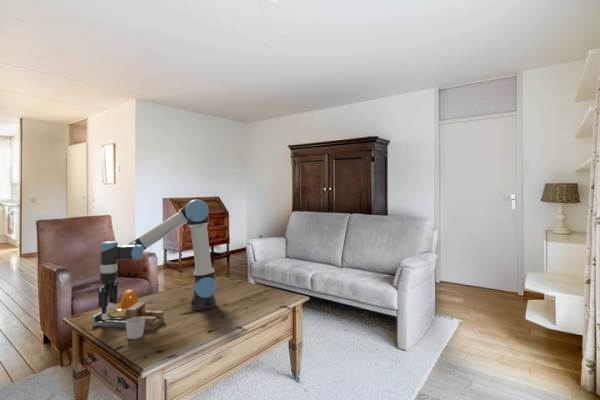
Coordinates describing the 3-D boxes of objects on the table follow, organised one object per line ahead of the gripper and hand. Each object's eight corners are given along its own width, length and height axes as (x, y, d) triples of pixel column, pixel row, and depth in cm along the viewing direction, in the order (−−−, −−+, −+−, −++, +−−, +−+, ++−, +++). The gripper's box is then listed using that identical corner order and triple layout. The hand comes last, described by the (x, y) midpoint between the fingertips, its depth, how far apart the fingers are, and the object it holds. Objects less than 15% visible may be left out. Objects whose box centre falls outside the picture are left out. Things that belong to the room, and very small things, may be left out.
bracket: (123, 316, 176) (124, 294, 176) (118, 313, 180) (118, 291, 180) (143, 311, 184) (143, 290, 184) (137, 308, 189) (138, 287, 188)
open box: (163, 321, 170) (164, 303, 170) (153, 329, 159) (154, 310, 159) (137, 320, 170) (137, 302, 170) (125, 328, 159) (126, 309, 159)
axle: (133, 316, 167) (133, 308, 167) (128, 320, 163) (128, 311, 163) (107, 315, 168) (107, 307, 167) (101, 319, 163) (101, 310, 163)
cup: (132, 331, 157) (132, 314, 157) (149, 331, 158) (149, 314, 158) (122, 341, 146) (122, 323, 146) (140, 341, 147) (140, 323, 147)
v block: (135, 321, 169) (135, 311, 169) (126, 327, 161) (126, 317, 161) (102, 320, 169) (103, 310, 169) (92, 326, 161) (92, 316, 161)
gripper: (111, 267, 174) (111, 311, 174) (90, 275, 156) (89, 323, 157) (125, 268, 174) (124, 311, 174) (105, 276, 156) (104, 324, 156)
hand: (107, 317), depth 165 cm, fingers closed on axle, 4 cm apart
